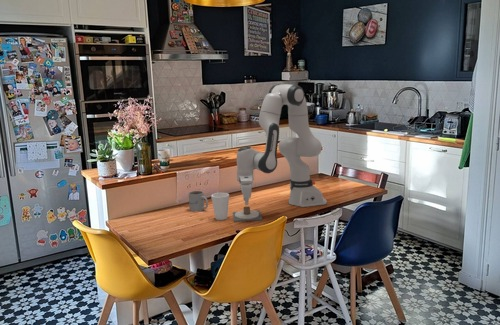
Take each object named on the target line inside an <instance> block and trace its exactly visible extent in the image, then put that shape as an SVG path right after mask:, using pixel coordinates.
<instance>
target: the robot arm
mask: <svg viewBox="0 0 500 325" xmlns="http://www.w3.org/2000/svg"><path fill="white" fill-rule="evenodd" d="M284 105H286V106H287V114H288V116H287V117H288V127H289V130H291V132H294V133H295V134H296V135H297V137H292V136H290V137H283V138H281V139H280V118H281V114H282V108H283V106H284ZM308 110H309V109H308V105H307V100H306V96H305V92H304V89H303V88H302V86H300V85H298V84H291V83H286V84H285V83H284V84H280V83H279V84H275V85H273V86H271V87H270V89H269V91H268V93H267V94H266V95H265V96H264V98H263V101H262V104H261V107H260V111H259V116H258V124H259V126H260V127H261V129H262V130H263V131H264V132H265V136H266V142H265V147H264V152H262V151H259V150H256V149H254V148H252V147H251V146H243V147H242V146H241V147H240V148H238V149H237V152H236V166H237V169H236V181H237V182H238V183H239V184H240V191H241V193H242V197H243V198H242V199H243V201H244V205H245V206H249V200H250V199H251V197H252V188H253V187H252V185H253V183H254V179H255V178H254V177H255V176H254V170H258V171H261V172H263V173H264V174H272V173H273V172H274V171H275V170H276V169H277V166H278V151H279V153H280V154H281V155H282V156H283V157H284V158H285V159H286V161H287V163H288V166H289V170H290V180H289V189H290V192H289V198H288V204H290V205H292V206H296V207H302V208H306V207H315V206H323V205H327V203H328V201H327V199H326V198H324V197H323V193H322V191H321V190H320V189H319V188H317V187H316V186H314V185H315V184H316V181H315V180H312V179H311V178H310V170H311V169H310V166H309V164H307V162H304V161H303V160H302V158H301V157H303V158H305V157H306V158H313V157H318V156H319V155H320V154H321V152H322V148H323V146H322V143H321V140H320V139H318V138H317V137H315V135H314V134H313V133H312V130H311V128H310V125H309V124H310V123H309V113H308ZM279 139H280V140H279Z"/></svg>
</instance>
